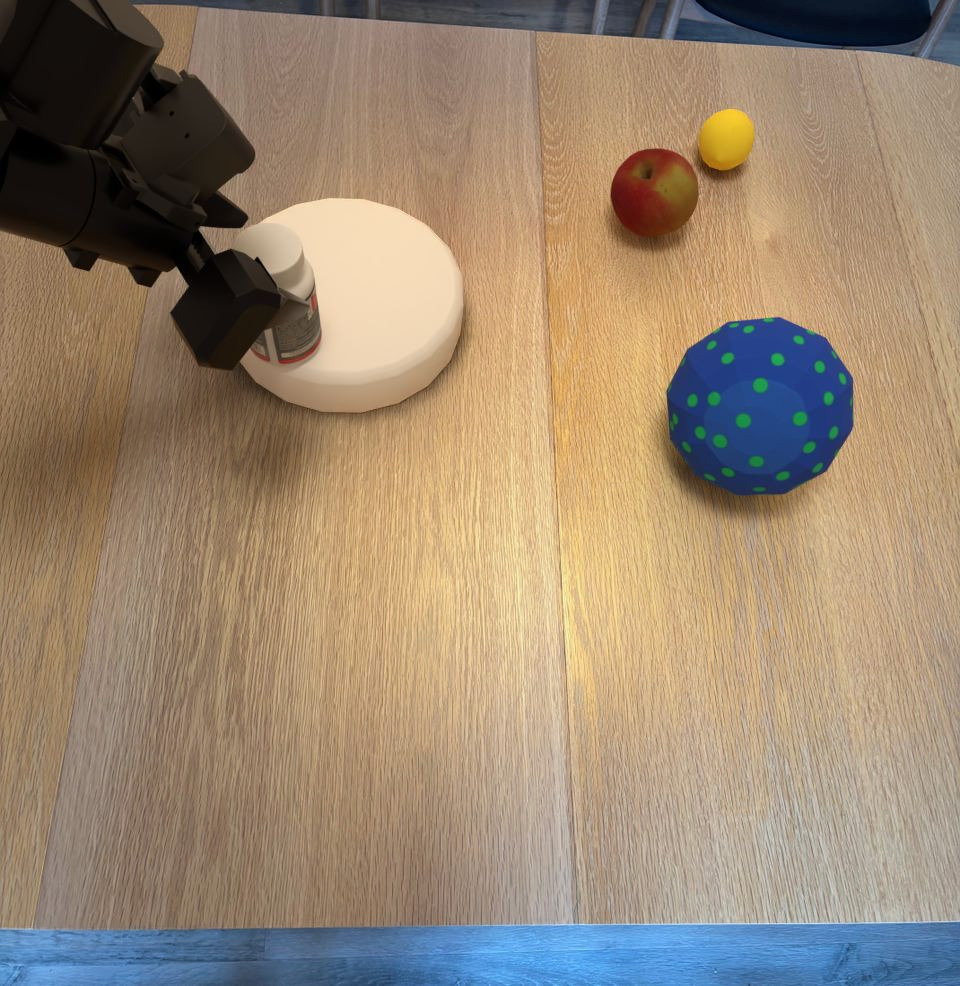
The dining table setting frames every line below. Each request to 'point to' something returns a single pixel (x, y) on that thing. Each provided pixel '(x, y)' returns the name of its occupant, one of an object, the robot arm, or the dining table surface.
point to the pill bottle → (293, 275)
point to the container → (369, 307)
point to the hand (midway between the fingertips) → (274, 264)
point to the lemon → (726, 139)
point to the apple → (654, 192)
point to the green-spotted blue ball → (760, 406)
